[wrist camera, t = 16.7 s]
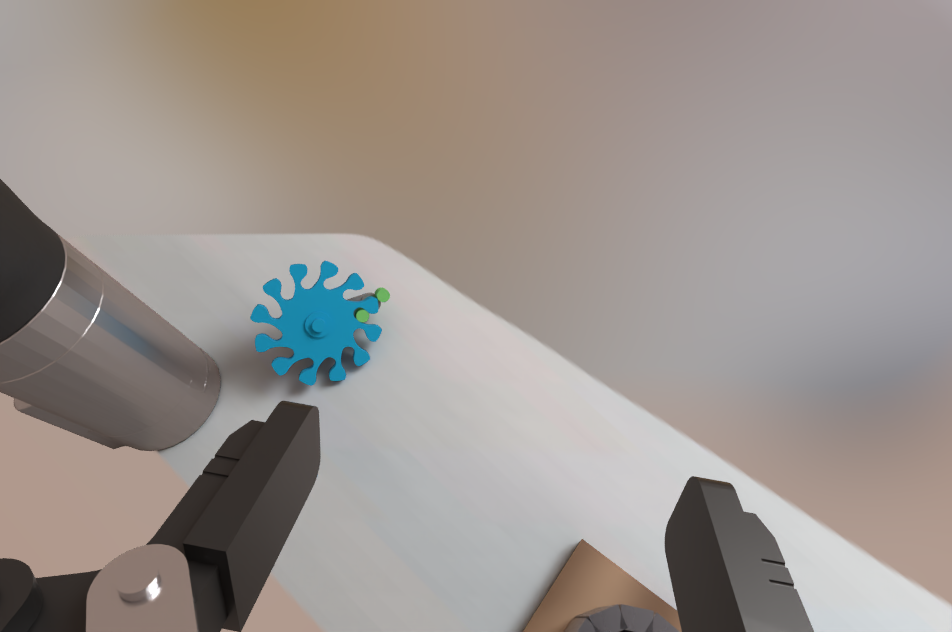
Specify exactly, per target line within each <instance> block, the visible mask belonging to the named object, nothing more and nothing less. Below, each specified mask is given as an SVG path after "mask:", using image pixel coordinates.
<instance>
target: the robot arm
mask: <svg viewBox="0 0 952 632" xmlns="http://www.w3.org/2000/svg"><path fill="white" fill-rule="evenodd" d="M219 391H220V374H219V369H218V367H217V365H216V363H215V361H214V360H213V359H212V358H211V357H210V356H209V355H208V354H207V353H206V352H204V351H203V350H202V349H201V348H199V347H198V346H197V345H196V344H194V343H193V342H192V341H191V340H189V339H188V338H187V337H186V336H185V335H183V334H182V333H181V332H180V331H179V330H177V329H176V328H175V327H174V326H172V325H171V324H170V323H169V322H167V321H166V320H165V319H164V318H162V317H161V316H160V315H159V314H157V313H156V312H155V311H154V310H152V309H151V308H150V307H149V306H147V305H146V304H145V303H144V302H142V301H141V300H140V299H139V298H137V297H136V296H135V295H133V294H132V293H131V292H130V291H128V290H127V289H126V288H125V287H123V286H122V285H121V284H120V283H118V282H117V281H116V280H115V279H113V278H112V277H111V276H110V275H108V274H107V273H106V272H105V271H103V270H102V269H101V268H100V267H98V266H97V265H96V264H95V263H93V262H92V261H91V260H89V259H88V258H87V257H86V256H84V255H83V254H82V253H81V252H79V251H78V250H77V249H76V248H74V247H73V246H72V245H71V244H70V243H68V242H67V241H66V240H65V239H63V238H62V237H61V236H60V235H58V234H57V233H56V232H54V231H53V230H52V229H51V228H50V227H49V226H47V225H46V224H45V223H43V222H42V221H41V220H40V219H39V218H38V217H37V216H36V215H34V213H33V212H32V211H31V210H30V209H29V208H28V207H27V206H26V205H25V204H24V203H23V202H22V201H21V200H20V199H19V198H18V197H17V196H16V195H15V193H13V191H12V190H11V189H10V188H9V187H8V186H7V185H6V184H5V183H4V182H3V181H2V180H1V179H0V392H1V393H4V394H6V395H8V396H11V397H14V406H15V408H16V409H17V410H18V411H20V412H22V413H25V414H27V415H30V416H32V417H35V418H37V419H40V420H42V421H45V422H47V423H50V424H52V425H55V426H57V427H60V428H62V429H65V430H68V431H70V432H72V433H75V434H77V435H80V436H83V437H85V438H87V439H90V440H92V441H95V442H97V443H100V444H102V445H105V446H107V447H110V448H112V449H116V448H119V447H122V446H129V447H132V448H135V449H138V450H145V451H154V450H161V449H165V448H168V447H170V446H173V445H176V444H177V443H179V442H181V441H183V440H185V439H186V438H188V437H189V436H190V435H191V434H193V433H194V432H195V431H197V430H198V428H199V427H200V426H201V425H202V424H203V423H204V422H205V421H206V419H207V418H208V417H209V415H210V414H211V412H212V411H213V409H214V406H215V404H216V402H217V399H218V396H219ZM319 465H320V428H319V410H318V408H317V407H316V406H310V405H305V404H299V403H294V402H288V401H281V402H280V403H279V404H278V405H277V406H276V408H275V409H274V411H273V412H272V413H271V415H270V416H269V418H268V419H267V421H266V422H260V421H254V420H251V421H250V422H248V423H247V424H245V425H244V426H242V427H241V428H240V429H238V430H237V431H235V432H234V433H232V434H231V435H229V437H228V438H227V439H226V441H225V442H224V444H223V445H222V446H221V448H220V449H219V450H218V452H217V453H216V454H215V458H214V459H212V460H211V461H210V462H209V464H208V465H207V466H206V468H205V469H204V470H203V474H202V475H200V476H199V477H198V478H197V480H196V481H195V482H194V484H193V485H192V486H191V488H190V489H189V490H188V492H187V493H186V494H185V496H184V497H183V498H182V500H181V501H180V502H179V504H178V505H177V506H176V508H175V509H174V510H173V512H172V513H171V514H170V516H169V517H168V518H167V520H166V521H165V522H164V524H163V525H162V526H161V528H160V529H159V530H158V532H157V533H156V534H155V536H154V537H153V538H152V539H151V540H150V541H149V542H148V543H147V544H146V545H145V546H141V547H137V548H134V549H132V550H129V551H127V552H125V553H123V554H121V555H120V556H118V557H117V558H115V559H114V560H112V561H111V562H110V563H108V564H107V565H106V566H105V567H104V568H103V569H101V570H98V571H92V572H86V573H77V574H69V575H60V576H52V577H42V578H35V577H34V575H33V573H32V571H31V569H30V567H29V566H28V565H26V564H25V563H23V562H21V561H19V560H15V559H6V558H3V559H0V632H220V631H221V629H222V628H223V629H228V630H233V631H238V632H241V630H242V628H243V626H244V624H245V622H246V620H247V618H248V616H249V614H250V612H251V610H252V608H253V606H254V604H255V602H256V600H257V598H258V596H259V594H260V592H261V590H262V588H263V586H264V584H265V582H266V580H267V578H268V576H269V574H270V572H271V570H272V568H273V566H274V564H275V562H276V560H277V558H278V556H279V554H280V552H281V550H282V548H283V546H284V544H285V542H286V540H287V538H288V536H289V534H290V532H291V530H292V528H293V526H294V524H295V522H296V520H297V518H298V516H299V514H300V512H301V510H302V508H303V506H304V504H305V502H306V500H307V498H308V496H309V494H310V492H311V490H312V488H313V485H314V483H315V480H316V477H317V474H318V470H319ZM665 553H666V558H667V563H668V568H669V572H670V577H671V582H672V587H673V592H674V597H675V601H676V606H677V611H678V616H679V621H680V625H681V630H682V632H814V630H813V628H812V626H811V623H810V621H809V618H808V616H807V614H806V611H805V609H804V607H803V604H802V602H801V599H800V597H799V595H798V592H797V590H796V589H794V583H793V580H792V578H791V575H790V573H789V571H788V568H785V561H784V559H783V556H782V554H781V552H780V549H779V547H778V544H777V542H776V540H775V537H774V536H773V535H772V534H771V533H770V531H769V530H768V529H767V528H766V526H765V525H764V524H763V523H762V522H761V520H760V519H759V518H758V517H757V515H756V514H753V513H748V512H743V509H742V507H741V504H740V501H739V499H738V496H737V493H736V491H735V489H734V487H733V485H731V484H730V483H728V482H722V481H717V480H711V479H705V478H700V477H694V476H693V477H691V478H689V480H688V481H687V483H686V485H685V487H684V490H683V492H682V494H681V496H680V498H679V500H678V502H677V504H676V506H675V509H674V511H673V513H672V515H671V517H670V519H669V521H668V524H667V527H666V533H665Z"/></svg>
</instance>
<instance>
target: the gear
mask: <svg viewBox="0 0 952 632" xmlns="http://www.w3.org/2000/svg"><path fill="white" fill-rule="evenodd" d="M337 272H338V267H337V266H336V265H334V264H332V263H330V262H328V261H324V262H323V263H322V264H321V273H320V277H319V279H318V281H317V282H316V284H315V285H314V286H313V287H312V288H310V289H304V288H303V287H302V286H301V284H300V282H301V280H302V279H303V278H304V277H305V276H306V274H307V266H306V265H304V264H293V265H291V266H290V274H291V276H292V277H293V279H294V282H295V293H294V296H293V298H292V299H289V300H285V299H283V298H282V297H281V294H280V292H281V282H280V281H279V280H278V279H277V278H275V279H272V280H270V281H269V282H267V283H266V284H265V285H264V286H263V290H264V292H265V293H266V294H268V295H270V296H272V297H273V298H274V299H275V300H276V301H277V302H278V303H279V305H280V307H281V310H282V316H281V317H279V318H272V317H271V316H270V315H269V312H268V310H267V308H266V307H265V306H264V305H261V304H258V305H257V306H256V307H255V308H254V310H253V312H252V315H251V317H250V319H251V320H252V321H254V322H257V323H260V322H263V323H268V324H271V325H273V326H275V327H276V328H278V329H279V330H280V331H281V332H282V334H283V336H282V337H281V338H280V339H278V340H274V339H272V338H270V337H269V336H268V335H266V334H258V335H257V336H256V339H255V346H256V351H258V352H265V351H267V350H268V349H270V348H273V347H288V348H291V349H292V350H293V351H294V355H293V356H292V357H290V358H285V357H277V358H275V359H274V360H273V361H272V367H273V369H274V370H275V372H276V373H277V374H278V375H279V376H280V375H284V374H285V373H286V372H287V371H288V369H289V368H290V366H291V365H292V364H294V363H295V362H297V361H299V360H301V359H304V358H311V359H312V360H313V362H314V363H313V365H312V366H311V367H309V368H306V369H304V370H302V371H301V372H300V374H299V380H300V381H301V382H303V383H305V384H307V385H311V386H312V385H313V384H314V383H315V382H316V373H317V369H318V367H319V365H320V364H321V363H322V362H323V361H324V359H326V358H328V357H332V358H334V359H335V364H334V365H333V366H332V367H331V369H330V370H329V377H330V380H332V381H340V380H344V379H345V378H346V373H345V370H344V368H343V367H342V364H341V355H342V350H343V349H344V348H345V347H348V346H349V347H352V348H353V349H354V353H353V360H354V363H355V364H356V365H357V366H361V365H363V364H365V363H366V362H367V361H368V360H370V356H369V354H368V352H367V351H366V350H364V349H362V348H360V347H359V346H358V345H357V343H356V342H355V340H354V337H353V333H354V331H355V330H356V329H358V328H361V329H363V330H364V331H365V333H366V336H367V338H368V339H369V340H370V341H373V342H375V341H376V340H377V339H378V338H379V336H380V334H381V331H382V329H381V328H380V327H379V326H378V325H375V324H365V323H363V322H366V321H367V320H368V319H369V313H371V314H375V313H377V312H378V309H379V308H380V305H381V302H386V301H387V300H388V299H389V298H390V294H389V292H388V291H387V290H386V289H384V288H378V289H377V290H376V291H375V294H374V293H366V294H363V295H360V296H357V297H354V298H351V299H348V300H345V299H344V298H343V292H344V291H345V290H347V289H353V290H360V289H362V288H363V287H364V283H363V281H362V279H361V278H360V276H359V275H358V274H357V273H353V274H351V275H350V276H349V277H348V279H347V280H346V282H345V283H344V284H343V285H341V286H339V287H337V288H334V289H331V290H329V289H326V288H325V287H324V286H323V283H324V281H325V280H326V279H327V278H330V277H333V276H335V275H336V274H337ZM380 301H381V302H380Z"/></svg>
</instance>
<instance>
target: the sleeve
mask: <svg viewBox="0 0 952 632" xmlns="http://www.w3.org/2000/svg"><path fill="white" fill-rule="evenodd" d="M575 617H576V618H573V619H572V620H571V622H570V623H569V625H568V626H567V628H566V629H565V630H564V632H619V631H620V632H679V631H678V630H677V629H676V628H675V627H674V626H672V625H671V624H670V623H669V622H668V621H666V620H665V619H664V618H663V617H662V616H661V615H659V614H658V613H654V611H652V610H648V609H643V608H638V607H633V606H628V605H624V604H617V605H610V606H604V607H597V608H594V609H592V610H589V611H587V612H584V613H582V614H579V615H577V616H575Z"/></svg>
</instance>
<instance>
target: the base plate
mask: <svg viewBox="0 0 952 632" xmlns="http://www.w3.org/2000/svg"><path fill="white" fill-rule="evenodd" d="M617 604H624V605H628V606H633V607H638V608H643V609H648V610H652V611H654V613H658V614H659V615H661V616H662V617H663V618H664V619H665V620H666V621H668V622H669V623H670V624H671V625H672V626H674V627H675V628H676V629H677V630H678V631H679V632H682V630H681V625H680V621H679V616H678V611H677V610H675V609H674V608H673V607H671V606H670V605H669V604H667V603H666V602H665V601H663V600H662V599H661V598H659V597H658V596H657V595H655V594H654V593H653V592H651V591H650V590H649V589H648V588H646V587H645V586H644V585H642V584H641V583H640V582H638V581H637V580H636V579H634V578H633V577H632V576H630V575H629V574H628V573H626V572H625V571H624V570H622V569H621V568H620V567H618V566H617V565H616V564H615V563H613V562H612V561H611V560H609V559H608V558H607V557H605V556H604V555H603V554H601V553H600V552H599V551H597V550H596V549H595V548H593V547H592V546H591V545H589V544H588V543H587V542H585V541H584V540H583V539H581V541H580V543H579V544H578V546H577V547H576V549H575V550H574V552H573V554H572V555H571V557H570V558H569V560H568V561H567V563H566V565H565V566H564V568H563V569H562V571H561V572H560V574H559V576H558V577H557V579H556V580H555V582H554V583H553V585H552V587H551V588H550V590H549V591H548V593H547V594H546V596H545V598H544V599H543V601H542V602H541V604H540V605H539V607H538V609H537V610H536V612H535V613H534V615H533V616H532V618H531V620H530V621H529V623H528V624H527V626H526V627H525V629H524V631H523V632H564V630H565V629H566V628H567V626H568V625H569V623H570V622H571V620H572V619H573V618H576V617H575V616H577V615H579V614H582V613H584V612H587V611H589V610H592V609H594V608H597V607H604V606H610V605H617ZM619 632H620V631H619Z"/></svg>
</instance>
